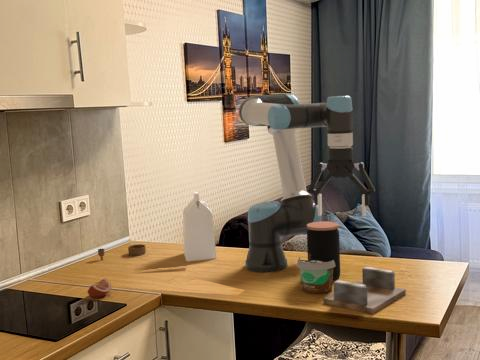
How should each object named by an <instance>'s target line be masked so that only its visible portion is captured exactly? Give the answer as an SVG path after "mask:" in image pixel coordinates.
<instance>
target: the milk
mask: <svg viewBox="0 0 480 360" xmlns="http://www.w3.org/2000/svg"><path fill="white" fill-rule="evenodd" d="M208 206H209V204H208V202H206V201H205V200H200V195H199V192H198V191H193V199H192V200H190V202H189V203H188V204H187V205H186V206H185V207H184V209H183V210H182V222H183V223H182V227H183V228H182V229H183V230H182V231H183V255H184V258H185V261H186V262H195V261H206V260H216V259H217V249H216V238H215V225H214V216H213V212H212V210H211V208H209V207H208Z"/></svg>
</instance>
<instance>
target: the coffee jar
mask: <svg viewBox="0 0 480 360" xmlns="http://www.w3.org/2000/svg"><path fill="white" fill-rule="evenodd" d="M307 228H308V231H307V234H306V243H307V260H319V261H323V262H330V261H332V260H334V262H335V267H334V268H333V281H337V280H339V277H340V276H341V253H340V251H341V247H340V231H339V230H338V228H340V224H339V223H338V222H334V221H325V220H323V221H322V220H321V222H312V223H309V224H307Z"/></svg>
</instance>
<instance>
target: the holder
mask: <svg viewBox="0 0 480 360" xmlns="http://www.w3.org/2000/svg"><path fill="white" fill-rule="evenodd" d="M361 274H362V277H361V278H362V281H360V280H357V281H355V282H351V281H346V280H345V281H344V280H340V279H336V280H334V281H333V282H332V284H333V293H331V294H329V295H327V296H325V297H324V298H323V299H322V300H323V304H325V305H329V306H335V307H339V308H344V309H349V310H352V311H357V312H362V313H367V314H371V315H374V314H375V313H377V312H380V310H382V309H383V308H386V307H387V306H389V305H390V304H392V303H394V302H395V301H398V300H399V299H400V298H402V297H403V296H405V295H406V294H407V293H406V292H407V291H406V290H407V289H406V288H401V287H395V285H396V283H395V282H396V281H395V272H394V270H389V269H382V268H377V267H370V266H365V267H363V268H362V273H361Z"/></svg>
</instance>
